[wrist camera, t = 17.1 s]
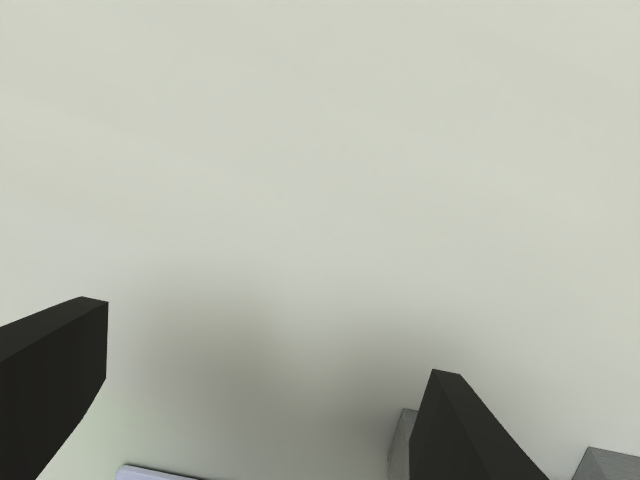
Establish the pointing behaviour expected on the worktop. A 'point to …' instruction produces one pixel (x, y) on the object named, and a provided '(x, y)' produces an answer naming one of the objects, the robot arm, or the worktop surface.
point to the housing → (592, 476)
